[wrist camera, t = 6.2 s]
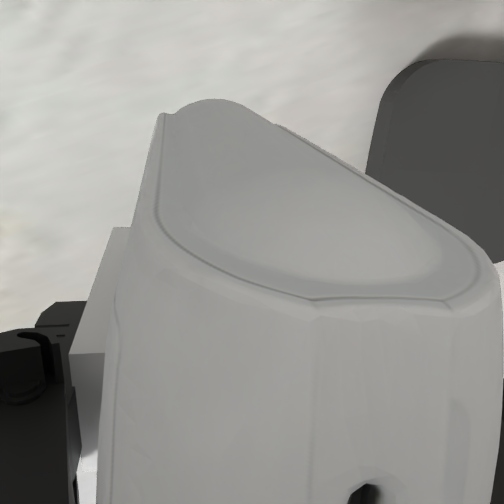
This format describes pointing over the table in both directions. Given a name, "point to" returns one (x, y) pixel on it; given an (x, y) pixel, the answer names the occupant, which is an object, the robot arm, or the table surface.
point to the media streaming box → (446, 145)
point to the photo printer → (293, 332)
